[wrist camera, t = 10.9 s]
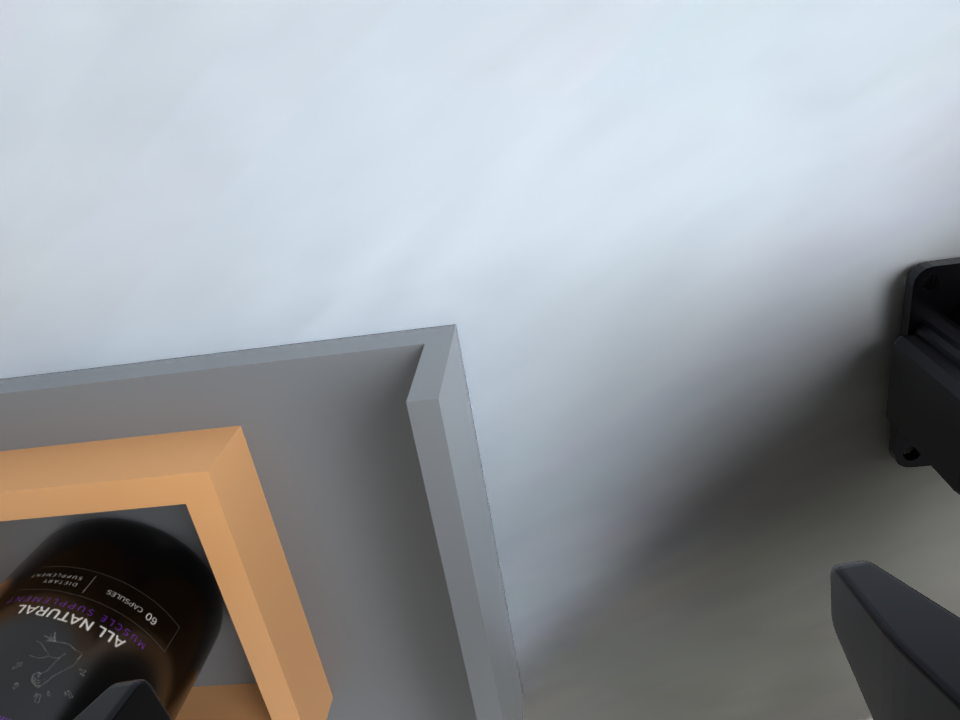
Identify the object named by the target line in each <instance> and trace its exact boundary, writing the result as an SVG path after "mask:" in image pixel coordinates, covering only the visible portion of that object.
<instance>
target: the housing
mask: <svg viewBox="0 0 960 720" xmlns="http://www.w3.org/2000/svg"><path fill="white" fill-rule="evenodd" d="M94 518H120V519H127V520H133V521H137V522H140V523H144V524H147V525H150V526H153V527H155V528H157V529H160V530H162V531H164V532H166V533H168V534H170V535H171V536H173V537H175V538H176V539H178V540H179V541H181V542H182V543H183V544H185V545H186V546H187V547H188V548H190V549H191V550H192V551H193V552H194V553H195V554H196V555H197V556H198V557H199V558H200V559H201V560H202V561H203V562H204V564H205V565H206V566H207V568H208V569H209V571H210V572H211V574H212V575H213V577H214V579H215V581H216V583H217V586H218V589H219V591H220V595H221V599H222V606H223V619H222V625H221V629H220V633H219V635H218V637H217V640H216V642H215V644H214V646H213V648H212V650H211V652H210V654H209V656H208V658H207V660H206V662H205V664H204V666H203V668H202V670H201V672H200V674H199V676H198V677H197V679H196V681H195V683H194V685H193V687H192V689H191V691H190V693H189V694H188V696H187V698H186V700H185V702H184V704H183V706H182V708H181V710H180V711H179V713H178V715H177V717H176V719H175V720H523V693H522V687H521V682H520V676H519V671H518V665H517V659H516V654H515V648H514V643H513V637H512V632H511V626H510V621H509V615H508V610H507V604H506V599H505V593H504V588H503V582H502V577H501V571H500V565H499V560H498V554H497V549H496V543H495V538H494V532H493V527H492V521H491V516H490V510H489V505H488V499H487V494H486V488H485V483H484V477H483V472H482V466H481V460H480V455H479V449H478V444H477V438H476V433H475V427H474V422H473V416H472V411H471V405H470V400H469V394H468V389H467V383H466V378H465V372H464V366H463V361H462V355H461V350H460V344H459V339H458V333H457V328H456V324H455V325H447V326H439V327H430V328H422V329H414V330H406V331H397V332H389V333H381V334H372V335H364V336H356V337H348V338H339V339H331V340H323V341H314V342H306V343H298V344H290V345H281V346H273V347H265V348H256V349H248V350H240V351H232V352H223V353H215V354H207V355H198V356H190V357H182V358H174V359H165V360H157V361H149V362H140V363H132V364H124V365H116V366H107V367H99V368H91V369H82V370H74V371H66V372H58V373H49V374H41V375H33V376H24V377H16V378H8V379H0V584H1V583H2V582H3V581H4V580H5V579H6V578H7V577H8V576H9V575H10V574H11V573H12V572H13V571H14V570H15V569H16V568H17V567H18V566H19V565H20V564H21V563H22V562H23V560H25V559H26V558H27V557H28V556H29V555H30V554H31V553H32V552H33V551H34V550H35V549H36V548H37V547H38V546H39V545H40V544H41V543H42V542H43V541H44V540H45V539H47V538H48V537H49V536H50V535H51V534H53V533H54V532H56V531H57V530H59V529H61V528H63V527H65V526H67V525H70V524H72V523H75V522H79V521H83V520H87V519H94Z"/></svg>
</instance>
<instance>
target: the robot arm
mask: <svg viewBox="0 0 960 720" xmlns="http://www.w3.org/2000/svg"><path fill="white" fill-rule="evenodd" d="M931 275H934V276H935V279H934V281H933V283H932V284H931V285H930V286H927V287H925V288H923V286H922V284H923V282H924V280H925V279H926V278H927V277H928V276H931ZM886 416H887V418H888V419H889V420H890V421H891V432H890V442H889V452H890V454H891V455H892V457H893V458H894V459H895V460H896V461H897V463H898V464H899V465H901V466H904V467H918V466H929V465H931V466H932V467H933V468H934V469H935V470H936V471H937V472H938V473H939V474H940V476H941V477H942V478H943V479H944V480H945V481H946V482H947V483H948V484H949V485H950V486H951V488H952V489H953V490H954V491H955V492H957V493H958V494H959V495H960V258H954V259H945V260H937V261H929V262H924V263H921V264H919V265H917V266H916V267H914V268H913V269H912V270H911V271H910V273H909V274H908V276H907V279H906V285H905V295H904V305H903V315H902V325H901V334H900V336H899V337H898V338H897V340H896V341H895V342H894V344H893V349H892V359H891V369H890V380H889V390H888V400H887V410H886ZM912 446H914V448H913V450H912V451H910V452H908V453H904V451H905V450H906V449H907V448H909V447H912ZM830 579H831V613H832V620H833V625H834V628H835V631H836V634H837V636H838V639H839V641H840V643H841V646H842V648H843V650H844V653H845V655H846V657H847V660H848V662H849V664H850V667H851V669H852V671H853V673H854V676H855V678H856V680H857V683H858V685H859V687H860V690H861V692H862V694H863V697H864V699H865V701H866V703H867V706H868V708H869V710H870V713H871V715H872V717H873V720H960V618H959V617H958V616H956V615H954V614H953V613H951V612H950V611H948V610H946V609H945V608H943V607H942V606H940V605H938V604H937V603H935V602H934V601H932V600H930V599H929V598H927V597H926V596H924V595H922V594H921V593H919V592H918V591H916V590H914V589H913V588H911V587H910V586H908V585H906V584H905V583H903V582H902V581H900V580H899V579H897V578H895V577H894V576H892V575H891V574H889V573H887V572H886V571H884V570H883V569H881V568H879V567H878V566H876V565H875V564H873V563H871V562H868V561H857V562H850V563H844V564H838V565H836V566H834V567H833V568H832V570H831V575H830ZM74 720H171V718H170V716H169V714H168V713H167V711H166V709H165V708H164V706H163V705H162V703H161V701H160V700H159V698H158V696H157V695H156V693H155V691H154V690H153V688H152V687H151V685H150V684H149V683H148V682H147V681H145V680H143V679H137V680H131V681H125V682H119V683H116V684H113V685H112V686H110V687H109V688H108V689H107V690H105V691H104V692H103V693H102V694H101V695H100V696H99V697H98V698H97V699H96V700H94V701H93V702H92V703H91V704H90V705H89V706H88V707H87V708H86V709H85V710H83V711H82V712H81V713H80V714H79V715H78V716H77V717H76V718H75V719H74Z"/></svg>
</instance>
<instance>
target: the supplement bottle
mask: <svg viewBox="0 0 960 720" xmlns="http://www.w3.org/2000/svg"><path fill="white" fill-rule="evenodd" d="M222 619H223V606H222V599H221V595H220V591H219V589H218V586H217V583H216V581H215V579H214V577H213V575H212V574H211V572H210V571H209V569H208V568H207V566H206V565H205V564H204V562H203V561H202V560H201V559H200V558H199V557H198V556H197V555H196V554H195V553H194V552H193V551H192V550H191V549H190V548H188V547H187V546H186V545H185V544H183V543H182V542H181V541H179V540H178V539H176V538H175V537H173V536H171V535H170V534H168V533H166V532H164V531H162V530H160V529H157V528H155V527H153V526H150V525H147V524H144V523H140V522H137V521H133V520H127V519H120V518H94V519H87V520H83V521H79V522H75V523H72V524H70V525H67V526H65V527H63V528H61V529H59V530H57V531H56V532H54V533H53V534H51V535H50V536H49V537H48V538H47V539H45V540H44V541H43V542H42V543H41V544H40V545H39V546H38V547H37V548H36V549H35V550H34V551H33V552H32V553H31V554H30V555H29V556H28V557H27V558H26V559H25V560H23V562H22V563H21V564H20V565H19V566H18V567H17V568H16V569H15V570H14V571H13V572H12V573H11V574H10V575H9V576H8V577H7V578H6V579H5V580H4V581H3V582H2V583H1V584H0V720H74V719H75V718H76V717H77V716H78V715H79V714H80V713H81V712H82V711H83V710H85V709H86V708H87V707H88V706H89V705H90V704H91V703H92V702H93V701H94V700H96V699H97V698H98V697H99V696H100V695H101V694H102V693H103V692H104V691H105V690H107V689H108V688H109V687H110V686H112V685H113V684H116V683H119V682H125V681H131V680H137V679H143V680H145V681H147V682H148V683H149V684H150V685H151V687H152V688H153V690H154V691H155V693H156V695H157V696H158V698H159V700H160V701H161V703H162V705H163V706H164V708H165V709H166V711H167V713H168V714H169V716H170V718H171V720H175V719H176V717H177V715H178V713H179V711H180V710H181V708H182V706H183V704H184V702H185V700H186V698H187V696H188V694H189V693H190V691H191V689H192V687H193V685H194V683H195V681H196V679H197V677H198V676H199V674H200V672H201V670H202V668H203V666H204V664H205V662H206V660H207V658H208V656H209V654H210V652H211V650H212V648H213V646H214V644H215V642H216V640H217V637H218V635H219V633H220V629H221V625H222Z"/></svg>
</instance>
